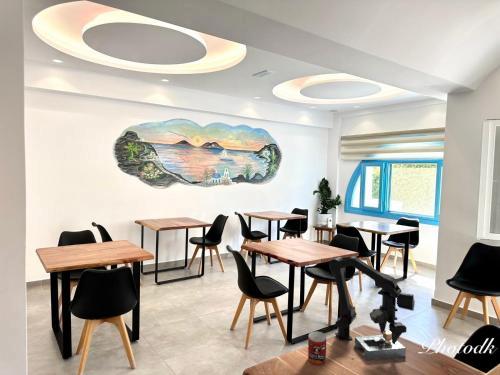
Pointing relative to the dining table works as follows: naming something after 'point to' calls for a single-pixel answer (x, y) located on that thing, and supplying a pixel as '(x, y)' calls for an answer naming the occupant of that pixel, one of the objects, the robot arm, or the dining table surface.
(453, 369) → the dining table surface
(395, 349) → the keyhole plate
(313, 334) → the canned food
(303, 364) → the dining table surface
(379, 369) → the dining table surface
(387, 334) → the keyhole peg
